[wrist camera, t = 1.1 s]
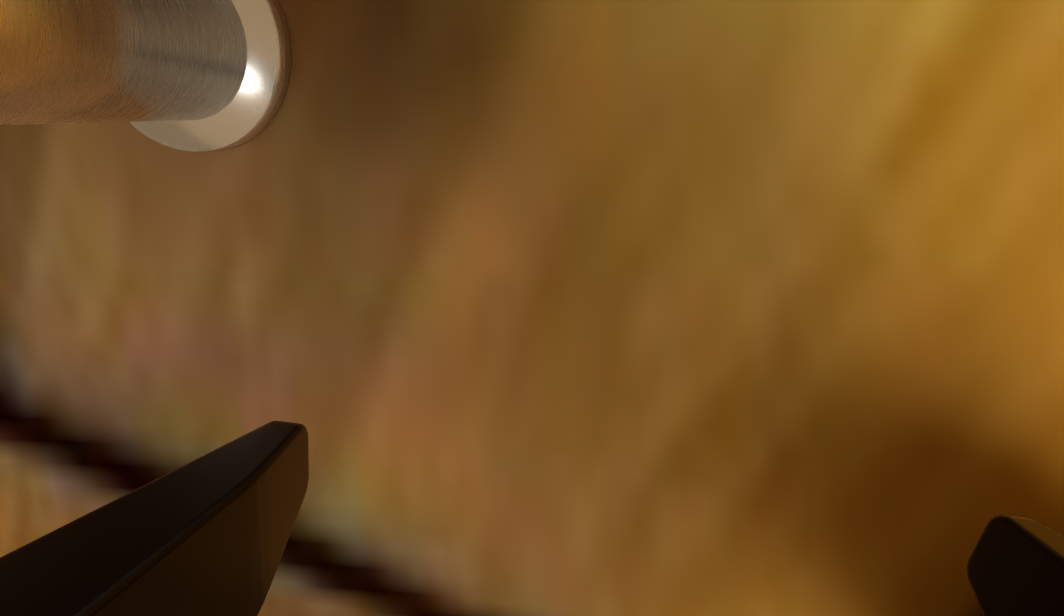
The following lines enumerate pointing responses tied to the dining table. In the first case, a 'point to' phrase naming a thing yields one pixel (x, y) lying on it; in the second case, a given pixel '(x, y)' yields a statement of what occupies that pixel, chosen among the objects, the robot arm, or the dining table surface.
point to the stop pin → (147, 66)
